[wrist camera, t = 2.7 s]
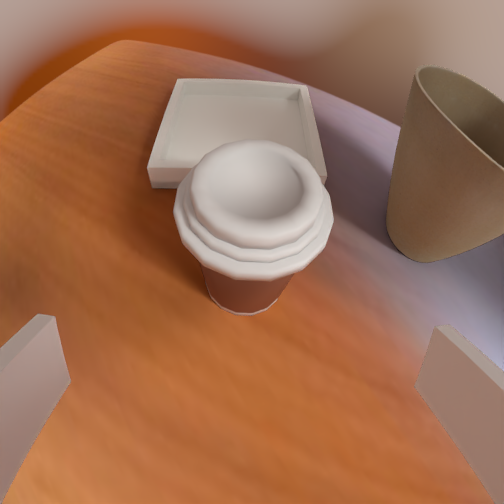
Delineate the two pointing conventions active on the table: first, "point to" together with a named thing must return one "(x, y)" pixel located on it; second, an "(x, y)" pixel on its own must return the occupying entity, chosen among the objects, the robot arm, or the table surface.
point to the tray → (231, 124)
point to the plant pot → (447, 168)
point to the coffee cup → (252, 221)
